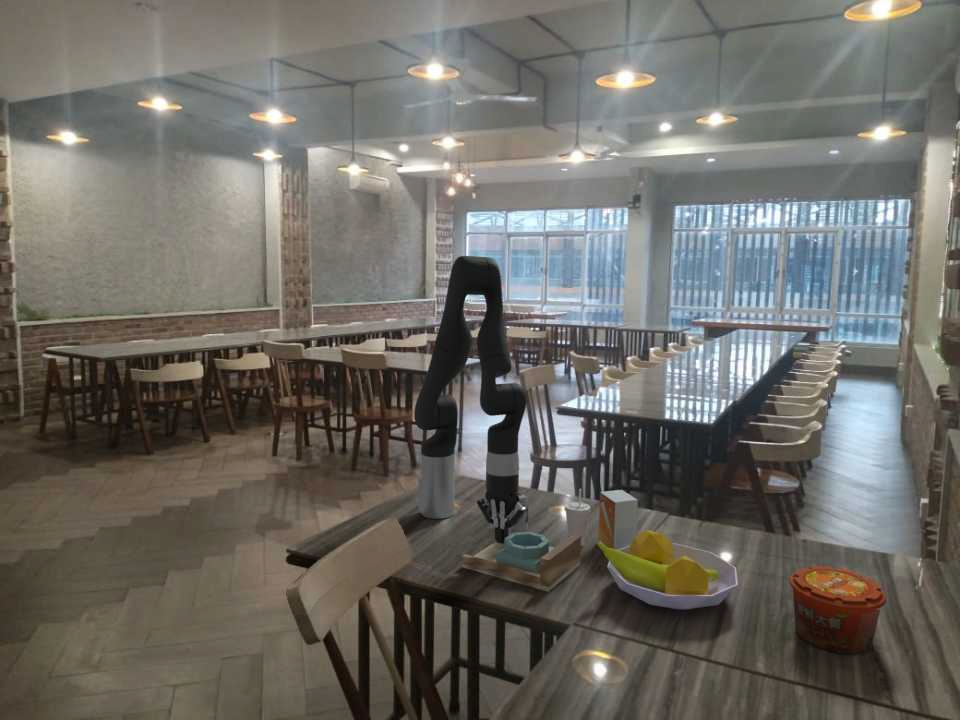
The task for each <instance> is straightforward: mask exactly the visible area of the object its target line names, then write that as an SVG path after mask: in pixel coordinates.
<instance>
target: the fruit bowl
mask: <svg viewBox="0 0 960 720" xmlns="http://www.w3.org/2000/svg"><path fill="white" fill-rule="evenodd" d="M596 545H597V547H598V548H599V549H600V550H601V551H602V552H603V555H604V556H605V558H606V559H607V561H608V564H607V569H608V571H609V573H610V574H611V576H612V578H613V579H614V581H615V583H616V585H617V586H618V588H619V590H621V591H623V592H625V593H627V594H629V595H631V596H633V597H635V598H636V599H638V600H641V601H642V602H645V603H646V604H648V605H651V606H655V607H662V608H667V609H672V610H673V609H675V610H679V611H682V610H691V609H699V608H705V607H712V606H718V605H720V604H721V602H723V600H724V599H726V597H728V595H729V594H731V593H732V591H733V590H734V589H736V588H737V586H738V584H739V583H738V574H737V567H735V566H734V565H733V564H731V563H729V562H728V561H727V560H724V559H723V558H721V557H720V556H718V555H716V554H715V553H714V552H712V551H708V550H704V549H700V548H699V549H698V548H696V547H691V546H688V545H683V544H679V543H675V542H673V543H672V540H670V539H669V538H668V537H667V536H666V535H664V534H663V533H660V532H657V531H652V530H649V529H644V530H643V531H642V532H640V533H639V534H637V535H636V536H635V537H634V539H633V541H632V543H631V545H630V546H628V547H625V548H622V549H619V550H615V549H612V548H609V547H606V546H605V545H604V544H603V543H602V542H599V541H598V542H597V543H596Z"/></svg>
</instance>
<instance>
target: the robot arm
mask: <svg viewBox="0 0 960 720" xmlns="http://www.w3.org/2000/svg"><path fill="white" fill-rule="evenodd" d="M502 284H503V283H502V275H501V269H500V266H499V263H498V262H497V261H496V260H495V258H492V257H488V256H475V255H474V256H473V255H472V256H471V255H460V256H458V257H457V258H455V260H454V262H453V264H452V267H451V271H450V275H449V279H448V285H447V292H446V297H445V303H444V308H443V313H442V317H441V321H440V323H439V324H440V325H439V328H438V332H437V334H436V338H435V341H434V345H433V349H432V353H431V358H430V362H429V365H428V368H427V372H426V375H425V379H424V381H423V383H422V386H421V389H420V391H419V394H418V396H417V399H416V402H415V406H414V414H413V415H414V417H413V418H414V423H415V425H416V426H417V427H418V428H419V429H420V430H422V431H434V430H436V432H434V434H433V435H431V436H430V437H429V438H427V439H425V440H424V441H422V443H421V444H420V478H419V479H418V481H417V499H418V500H417V506H418V508H417V510H418V511H417V513H418V514H421V516H423V517H424V518H427V519H433V520H436V519H437V520H439V519H447V518H451V517H452V516H454V515H455V507H456V506H455V500H456V499H455V495H456V494H455V492H456V491H455V487H456V486H455V481H456V480H455V478H456V477H455V474H456V473H455V472H456V471H455V468H456V465H455V464H456V463H455V461H456V460H455V456H456V455H455V452H456V450H455V449H456V445H457V440H458V437H457V435H458V420H459V419H458V418H459V417H458V416H459V410H458V405H457V401H456V399H455V398H454V396H453V395H451V394H446V393H444V394H443V392H444V390H445V388H446V387H447V386H448V385H449V384H451V382H452V381H453V380H454V379H456V377H457V376H458V375H459V374H460V373H461V371H462V370H463V369H464V368H465V366H466V364H467V362H468V359H469V356H470V353H471V350H472V345H473V337H472V336H473V335H472V332H471V329H470V326H469V324H468V322H467V320H466V316H465V313H464V309H465V308H464V306H465V303H466V302H465V301H466V299H467V297H468V296H469V295H470V296H483V297H484V301H485V305H486V308H485V309H486V310H485V314H484V317H483V320H482V322H481V325H480V326H479V327H480V328H479V330H478V332H477V333H478V334H477V337H476V348H477V353H478V355H477V356H478V358H479V359H478V360H479V364H480V370H481V371H480V372H481V374H480V375H481V377H480V379H481V381H480V393H479V405H480V407H481V410H482V411H483V413H485V415H488V416H491V417H493V416H504V418H503V420H502V421H500V422H498V423H495V424H493V425H489V427H488V430H487V437H486V439H487V440H486V441H487V444H486V445H487V447H486V448H487V449H486V451H487V452H486V459H485V489H486V492H485V493H484V497H482V498H479V499H478V500H476V504H477V506H478V509H480V511H481V513H482V514H483V516H484V518H485V520H486V521H487V523H488V524H492V525H493V527H494V540H495V542H497V543H501V544H503V543H504V539H505V538H506V537H508V528H511V527H512V526H514V525H516V524H517V522H518V521H519V520H520V519H521V518H522V517H523V516H524V514H525V513H526V512H527V511H528V512H529V507H528V508H527V507H523V506H522V505H521V504H520V503H519V497H518V492H519V487H520V486H519V484H520V483H519V481H520V479H519V477H520V475H519V474H520V472H519V471H520V458H519V433H520V429H521V425H522V422H523V418H524V415H525V411H526V407H527V401H528V399H527V398H528V397H527V392H526V390H525V388H524V387H523V385H522V384H520V383H518V382H509V383H497V381H496V379H497V378H500V377H502V376H503V377H504V376H506V375H508V374H509V373H510V372H511V371H512V367H513V366H512V362H511V361H512V360H511V355H510V352H509V346H508V341H507V337H506V332H505V320H504V301H503V287H502V286H503V285H502ZM515 507H516V509H515V513H516V514H515V515H514V516H513V517H512V518H511V520H510V517H511V515H512V511H513V510H514V508H515Z"/></svg>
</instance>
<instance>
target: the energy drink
mask: <svg viewBox="0 0 960 720" xmlns="http://www.w3.org/2000/svg"><path fill="white" fill-rule="evenodd" d="M518 497H519V503H520V504H521V505H522V506H523V507H527V508H528V509H529V496H528V494H527V493H525V492H521V491H518ZM515 509H516V507H515V508H514V510H513V511H512V515H511V517H510V520H511V518H512V517H513V516H514V515H515V514H516V513H515ZM520 532H529V510H528V511H527V512H526V513H525V514H524V516H523V517H522V518H521V519H520V520H519V521H518V522H517V524H516V525H514V526H512V527H511V528H508V536H509V535H511V534H512V533H520Z"/></svg>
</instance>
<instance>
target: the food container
mask: <svg viewBox="0 0 960 720" xmlns="http://www.w3.org/2000/svg"><path fill="white" fill-rule="evenodd" d="M788 583H789V585H790V586H791V588H792V597H793V611H794V612H793V613H794V627H795V632H796V634H797V635H798V636H799V637H800V638H801V639H802V640H803V641H805V642H806V643H808V644H809V645H812V646H814V647H817V648H818V649H821V650H825V651H828V652H831V653H832V652H833V653H837V654H844V655H845V654H846V655H852V654H853V655H854V654H861V653H864V652H867V651H868V650H870V649H871V648H872V646H873V642H874V638H875V634H876V629H877V626H878V625H877V624H878V622H879V617H880V612H881V610H882V609H883V608H884V606H885V604H886V602H887V596H886V593H885V591H884V590H883V589H882V588H881V587H880V585H879V584H878V583H877V582H876V581H874V580H873V579H871V578H865V577H863V575H862V574H860V573H858V572H855V571H852V570H848V569H843V568H838V569H834V568H832V567H831V566H825V565H812V566H809V568H804V567H802V568H799V569H797V570H796V571H795V572H793V573H792V574H791V575H790V577H789V581H788Z"/></svg>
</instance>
